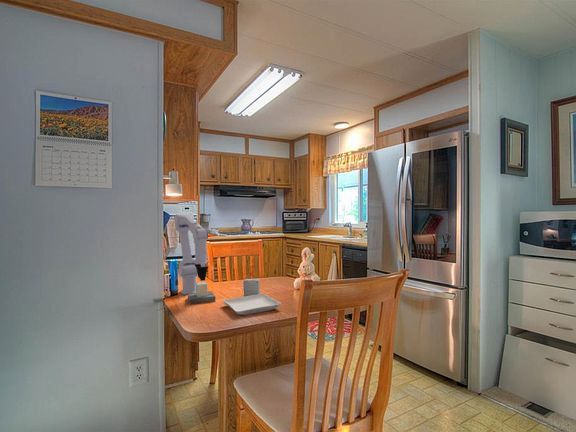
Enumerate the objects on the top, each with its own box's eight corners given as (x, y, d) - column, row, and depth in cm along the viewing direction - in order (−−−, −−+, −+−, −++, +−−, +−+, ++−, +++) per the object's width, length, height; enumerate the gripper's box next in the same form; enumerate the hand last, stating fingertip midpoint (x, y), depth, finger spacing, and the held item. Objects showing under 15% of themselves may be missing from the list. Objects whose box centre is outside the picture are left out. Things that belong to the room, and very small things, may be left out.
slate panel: (188, 299, 166) (187, 293, 166) (211, 296, 170) (211, 291, 170) (190, 305, 155) (190, 299, 155) (215, 302, 159) (215, 296, 159)
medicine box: (260, 295, 169) (259, 278, 169) (258, 297, 165) (258, 280, 165) (245, 295, 170) (245, 278, 170) (243, 297, 166) (243, 280, 165)
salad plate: (236, 319, 132) (236, 310, 132) (222, 306, 151) (222, 299, 151) (282, 310, 142) (282, 303, 142) (263, 300, 161) (263, 293, 161)
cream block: (196, 294, 164) (195, 282, 164) (206, 293, 165) (206, 281, 165) (197, 296, 159) (196, 284, 159) (207, 295, 161) (207, 283, 161)
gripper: (211, 253, 158) (211, 280, 158) (206, 250, 171) (207, 275, 171) (196, 254, 155) (197, 282, 155) (193, 251, 169) (193, 277, 169)
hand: (201, 279), depth 163 cm, fingers open, 7 cm apart
